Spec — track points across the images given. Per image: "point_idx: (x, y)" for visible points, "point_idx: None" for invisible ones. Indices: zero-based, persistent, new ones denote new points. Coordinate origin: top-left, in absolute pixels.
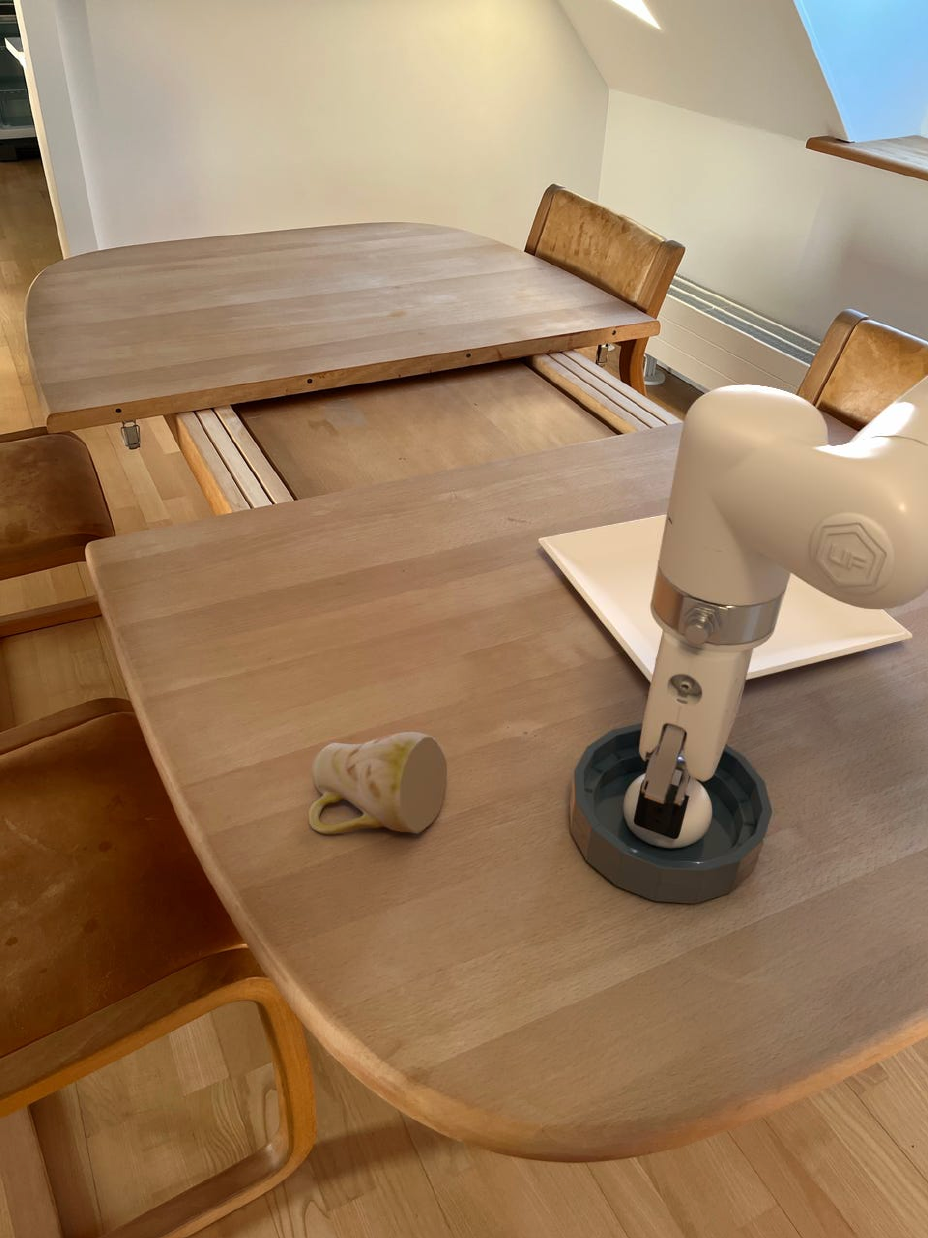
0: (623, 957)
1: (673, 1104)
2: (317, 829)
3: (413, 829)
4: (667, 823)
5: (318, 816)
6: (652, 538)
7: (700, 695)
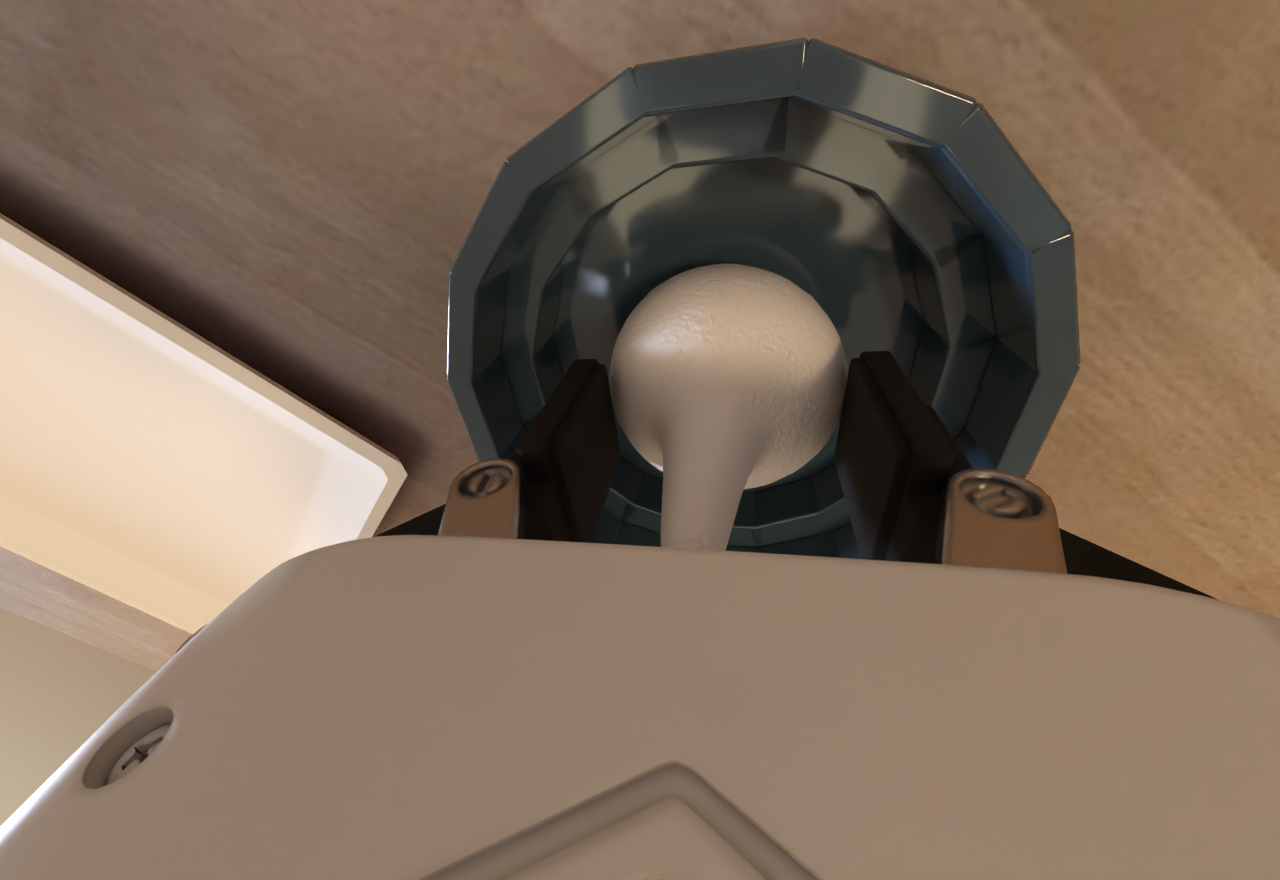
0: (1196, 311)
1: None
2: None
3: None
4: (944, 429)
5: None
6: (113, 560)
7: None
